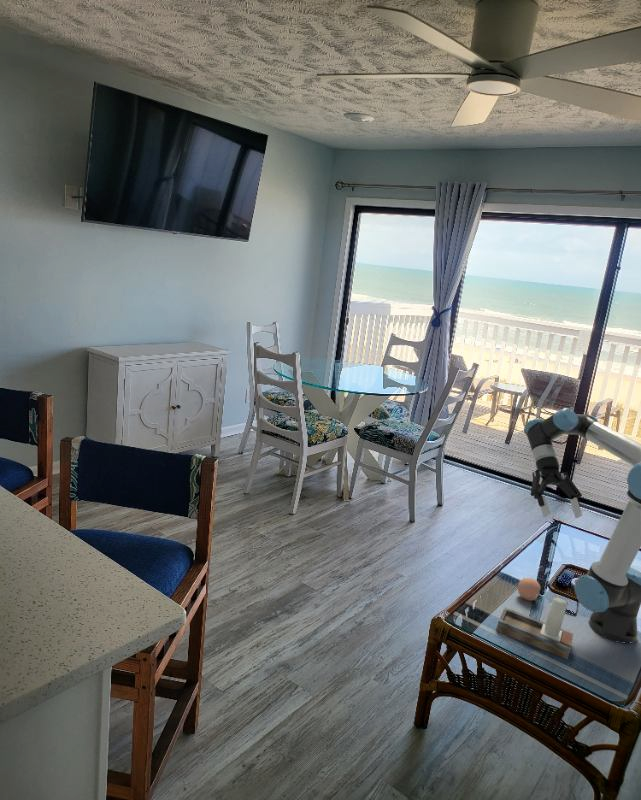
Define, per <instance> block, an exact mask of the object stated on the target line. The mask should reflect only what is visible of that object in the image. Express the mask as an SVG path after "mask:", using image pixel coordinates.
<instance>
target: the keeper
mask: <svg viewBox="0 0 641 800" xmlns="http://www.w3.org/2000/svg"><path fill="white" fill-rule="evenodd" d="M567 604H568V603H567V602H566V601H565V600H563V599H561V598H557V597H555V596H554V597H552V602H551V605H550V608H549V612H548V616H547V618H546V622H545V623H546V625H545V624H543V626H542V629H541V633H540V635H542V636H544V637H547V638H549V639H552V640H554V641H557V642H559V643H560V640H561V635H562V631H561V630H560V629H562V628H561V627H562V625H563V622H564V619H565V614H566V613H565V611H566V607H567Z"/></svg>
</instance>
